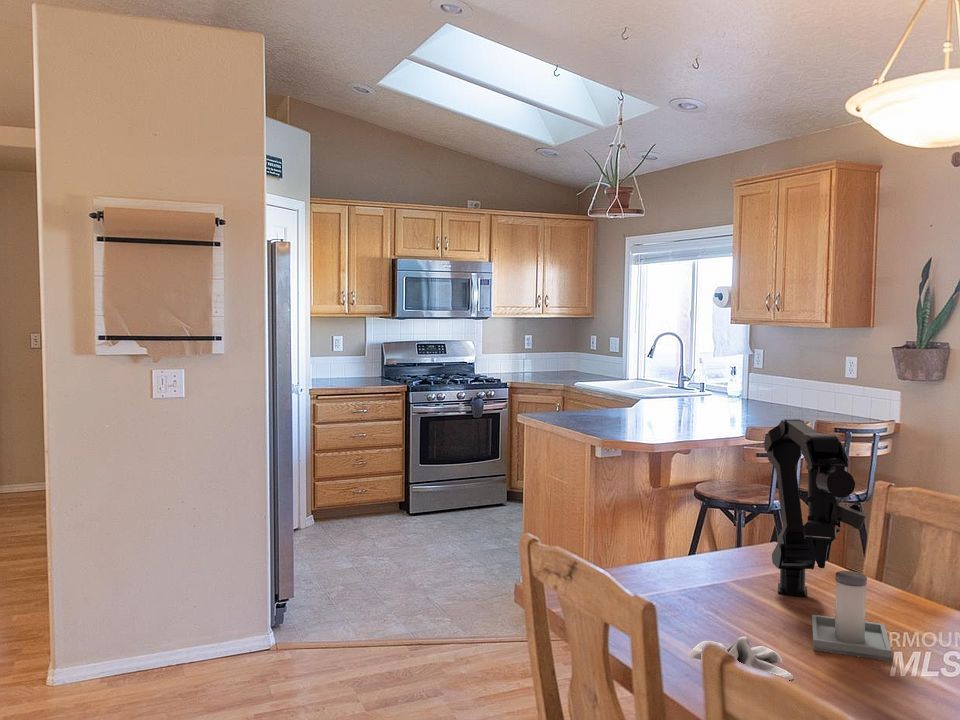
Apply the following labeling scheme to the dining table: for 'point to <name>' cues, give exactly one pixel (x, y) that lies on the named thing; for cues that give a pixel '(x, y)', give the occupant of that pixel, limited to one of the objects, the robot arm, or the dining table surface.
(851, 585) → the shaker
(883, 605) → the dining table surface
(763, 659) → the cloth
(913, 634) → the dining table surface
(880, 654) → the tray
